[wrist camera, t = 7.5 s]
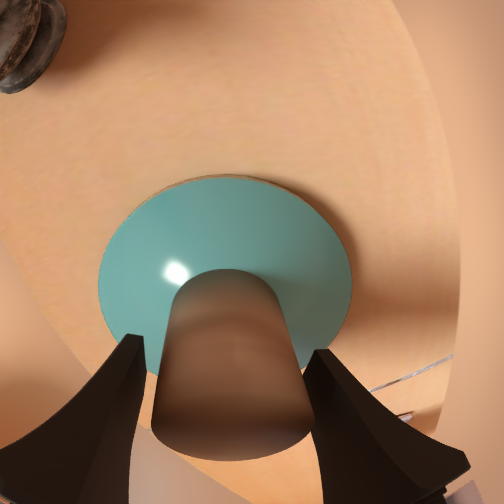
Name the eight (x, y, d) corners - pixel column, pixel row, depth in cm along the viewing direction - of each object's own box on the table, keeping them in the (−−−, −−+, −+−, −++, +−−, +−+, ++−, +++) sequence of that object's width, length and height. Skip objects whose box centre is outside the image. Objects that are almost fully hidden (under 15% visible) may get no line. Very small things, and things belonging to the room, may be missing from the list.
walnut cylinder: (265, 357, 14) (285, 459, 9) (168, 347, 13) (154, 454, 8) (293, 277, 12) (341, 389, 7) (175, 260, 11) (146, 378, 6)
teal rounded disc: (303, 378, 17) (308, 392, 16) (118, 363, 15) (114, 377, 14) (373, 202, 12) (386, 210, 11) (105, 160, 10) (94, 165, 9)
